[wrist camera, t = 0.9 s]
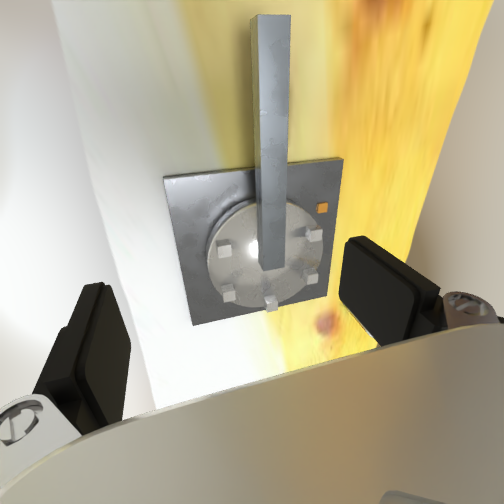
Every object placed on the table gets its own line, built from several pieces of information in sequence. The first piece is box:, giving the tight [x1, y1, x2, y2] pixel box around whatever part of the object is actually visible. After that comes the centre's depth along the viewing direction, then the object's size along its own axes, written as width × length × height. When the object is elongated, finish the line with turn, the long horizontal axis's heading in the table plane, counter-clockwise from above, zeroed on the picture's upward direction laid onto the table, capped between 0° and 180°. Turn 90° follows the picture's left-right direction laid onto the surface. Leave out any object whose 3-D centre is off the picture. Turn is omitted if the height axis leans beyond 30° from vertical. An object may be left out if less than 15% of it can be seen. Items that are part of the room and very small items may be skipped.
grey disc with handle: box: [206, 15, 323, 312], centre depth 29 cm, size 29×14×4 cm, turn 3°
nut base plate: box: [163, 158, 344, 326], centre depth 36 cm, size 20×20×1 cm
